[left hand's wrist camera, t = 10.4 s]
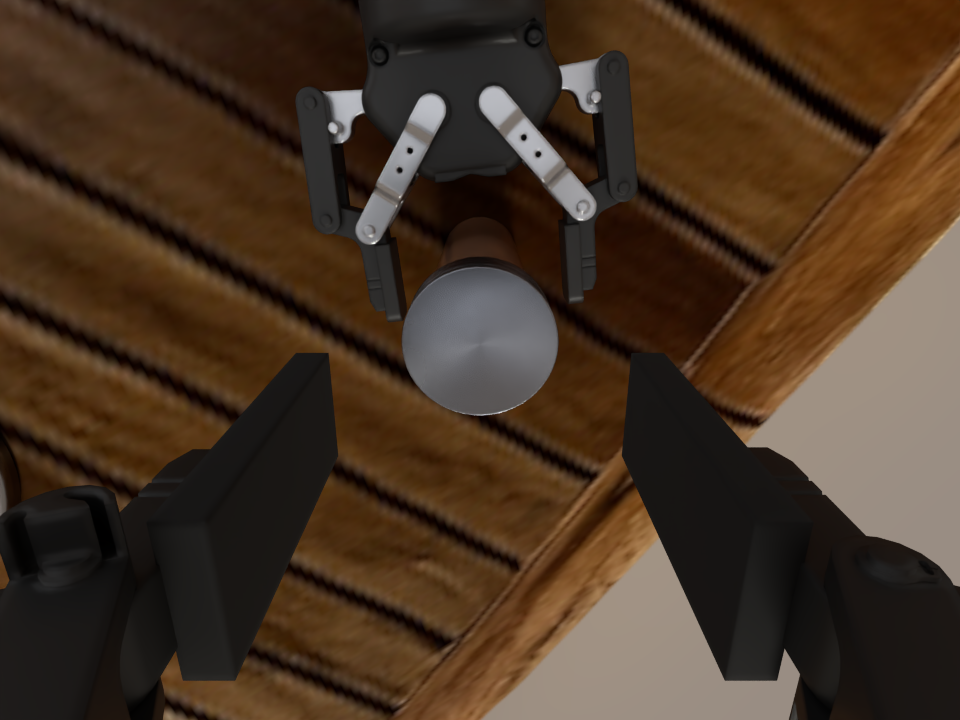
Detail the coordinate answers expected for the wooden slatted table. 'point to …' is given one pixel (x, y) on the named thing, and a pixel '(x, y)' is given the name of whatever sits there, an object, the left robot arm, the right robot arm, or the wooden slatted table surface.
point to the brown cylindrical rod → (479, 242)
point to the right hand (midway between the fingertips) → (485, 308)
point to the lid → (480, 336)
